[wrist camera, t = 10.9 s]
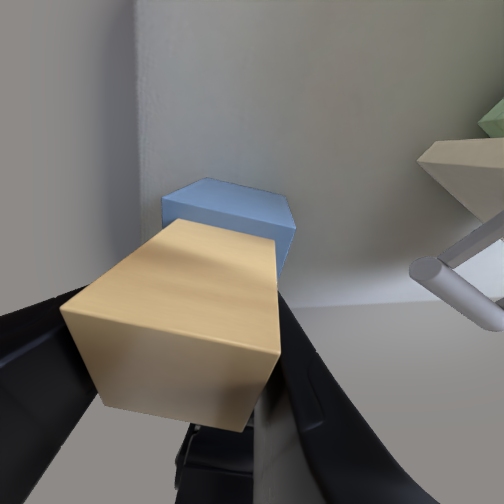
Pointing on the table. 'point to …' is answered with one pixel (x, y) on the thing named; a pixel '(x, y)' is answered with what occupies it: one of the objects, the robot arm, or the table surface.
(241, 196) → the block
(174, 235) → the block
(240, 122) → the table surface
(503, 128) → the drawer
